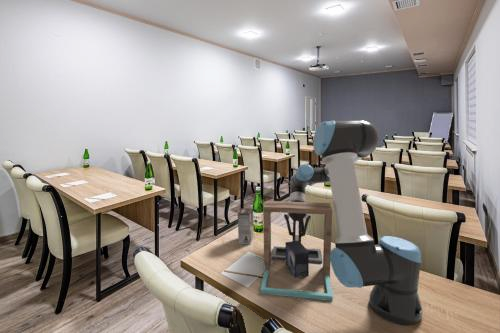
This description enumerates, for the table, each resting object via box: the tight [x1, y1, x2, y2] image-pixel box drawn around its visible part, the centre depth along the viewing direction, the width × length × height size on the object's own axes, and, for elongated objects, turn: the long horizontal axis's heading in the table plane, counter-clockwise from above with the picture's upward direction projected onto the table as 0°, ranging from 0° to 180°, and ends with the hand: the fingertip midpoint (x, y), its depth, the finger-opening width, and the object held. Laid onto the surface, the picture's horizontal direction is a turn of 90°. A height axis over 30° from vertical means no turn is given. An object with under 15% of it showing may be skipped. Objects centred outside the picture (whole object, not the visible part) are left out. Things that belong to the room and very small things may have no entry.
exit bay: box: [259, 270, 334, 302], centre depth 100 cm, size 13×25×2 cm, turn 79°
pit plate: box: [271, 246, 323, 264], centre depth 122 cm, size 10×22×1 cm, turn 79°
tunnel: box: [262, 200, 333, 279], centre depth 108 cm, size 8×26×28 cm, turn 79°
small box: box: [285, 240, 310, 279], centre depth 110 cm, size 11×6×10 cm, turn 14°
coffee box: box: [237, 207, 255, 245], centre depth 137 cm, size 9×6×16 cm
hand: (296, 250), depth 119 cm, fingers closed
